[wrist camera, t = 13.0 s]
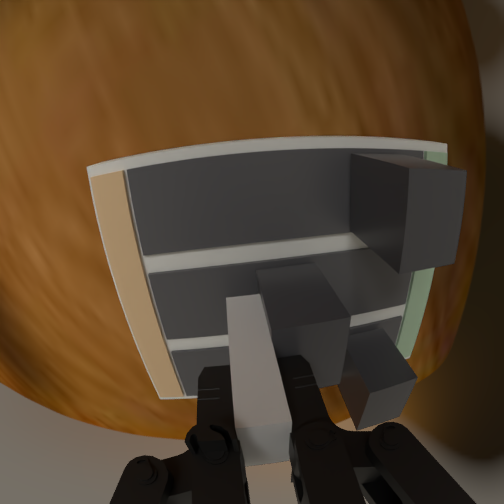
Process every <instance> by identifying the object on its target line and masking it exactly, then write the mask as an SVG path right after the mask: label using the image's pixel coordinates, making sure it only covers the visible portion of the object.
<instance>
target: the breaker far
mask: <svg viewBox="0 0 504 504" xmlns="http://www.w3.org/2000/svg"><path fill="white" fill-rule="evenodd" d="M417 378H418V377H417V376H416V374H415V373H414V371H413V370H412V369H411V367H410V366H409V364H408V363H407V361H406V360H405V358H404V357H403V356H402V354H401V353H400V351H399V350H398V348H397V347H396V346H395V344H394V343H393V341H392V340H391V339H390V337H389V336H388V334H387V333H386V332H385V330H384V329H383V328H380V329H376V330H372V331H367V332H363V333H358V334H354V335H349V336H348V342H347V348H346V354H345V360H344V365H343V371H342V376H341V381H340V384H337V385H338V387H339V390H340V392H341V394H342V397H343V399H344V401H345V404H346V406H347V409H348V411H349V413H350V416H351V418H352V420H353V423H354V425H355V428H356V430H360V429H364V428H367V427H370V426H373V425H376V424H379V423H382V422H385V421H388V420H391V419H394V418H396V417H399V416H400V414H401V412H402V410H403V408H404V406H405V404H406V402H407V400H408V398H409V396H410V393H411V391H412V389H413V387H414V385H415V382H416V380H417Z"/></svg>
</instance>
